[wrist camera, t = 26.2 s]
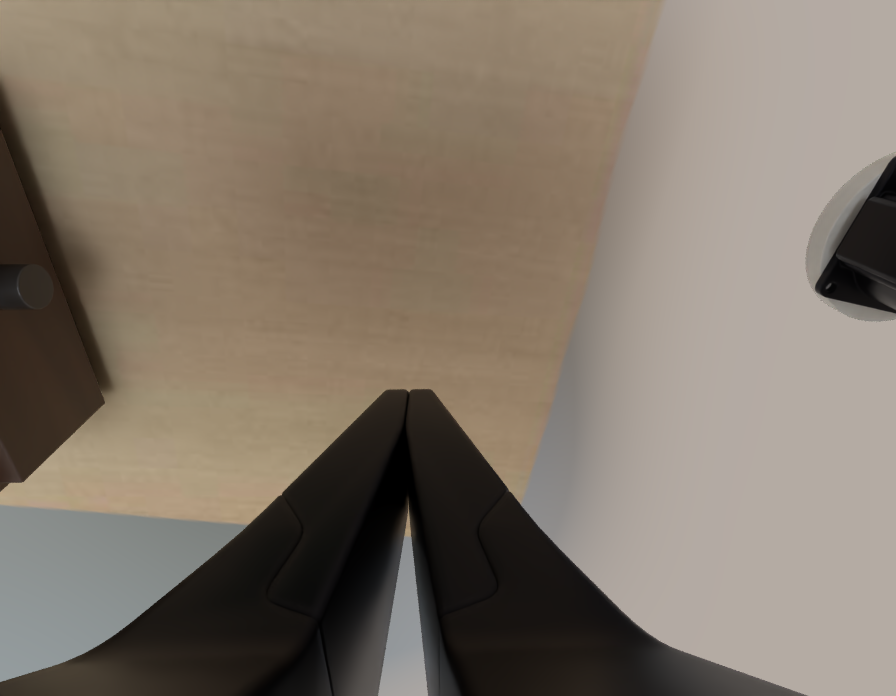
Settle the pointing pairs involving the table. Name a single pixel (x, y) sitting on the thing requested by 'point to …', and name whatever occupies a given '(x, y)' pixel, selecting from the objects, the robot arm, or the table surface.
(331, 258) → the table surface
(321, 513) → the robot arm
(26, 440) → the drawer
